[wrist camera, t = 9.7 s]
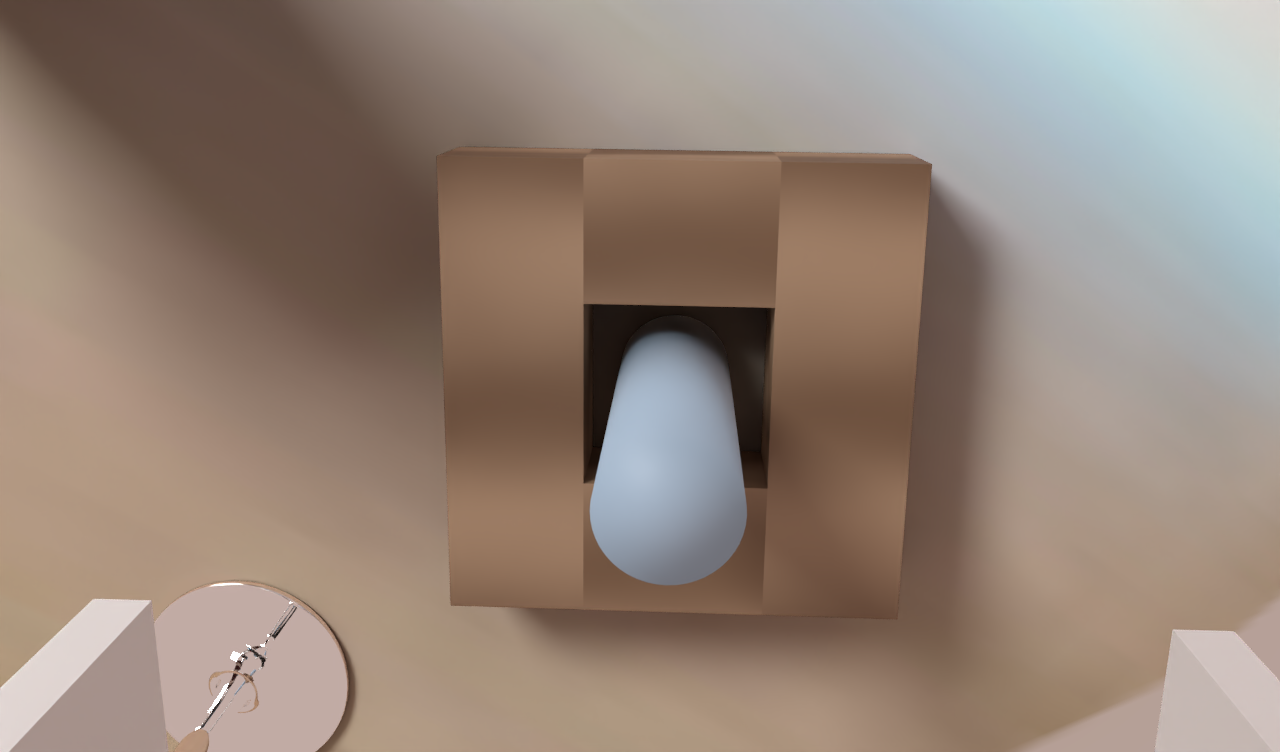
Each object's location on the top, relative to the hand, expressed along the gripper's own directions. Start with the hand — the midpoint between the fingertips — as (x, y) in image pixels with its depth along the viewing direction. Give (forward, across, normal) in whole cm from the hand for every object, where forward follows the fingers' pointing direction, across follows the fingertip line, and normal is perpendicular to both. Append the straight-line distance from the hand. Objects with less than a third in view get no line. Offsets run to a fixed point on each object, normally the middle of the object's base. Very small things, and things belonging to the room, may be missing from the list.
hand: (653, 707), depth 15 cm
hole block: (+18, 0, -1) cm, 19 cm away
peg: (+18, 0, -1) cm, 19 cm away
